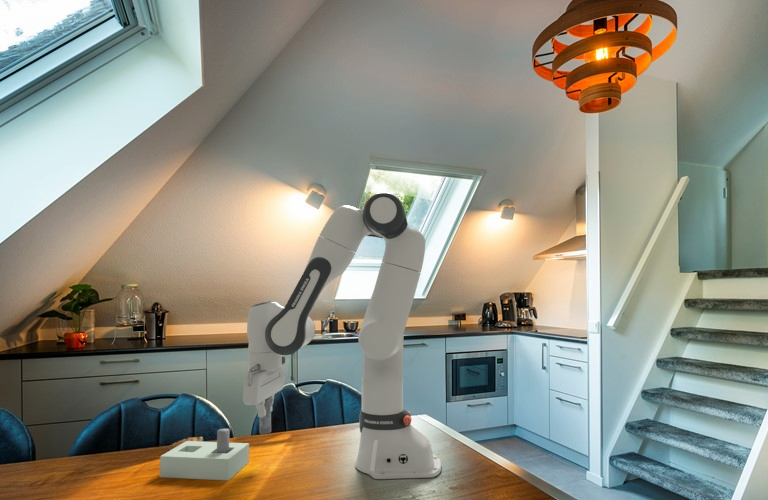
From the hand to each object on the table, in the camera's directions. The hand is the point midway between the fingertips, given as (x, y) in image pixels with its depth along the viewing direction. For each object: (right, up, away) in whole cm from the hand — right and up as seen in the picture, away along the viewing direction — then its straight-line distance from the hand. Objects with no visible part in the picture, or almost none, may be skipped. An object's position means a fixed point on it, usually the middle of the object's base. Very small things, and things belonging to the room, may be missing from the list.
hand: (265, 414), depth 124 cm
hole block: (-14, -13, -5) cm, 20 cm away
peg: (0, -5, 0) cm, 5 cm away
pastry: (-25, -15, +10) cm, 30 cm away
